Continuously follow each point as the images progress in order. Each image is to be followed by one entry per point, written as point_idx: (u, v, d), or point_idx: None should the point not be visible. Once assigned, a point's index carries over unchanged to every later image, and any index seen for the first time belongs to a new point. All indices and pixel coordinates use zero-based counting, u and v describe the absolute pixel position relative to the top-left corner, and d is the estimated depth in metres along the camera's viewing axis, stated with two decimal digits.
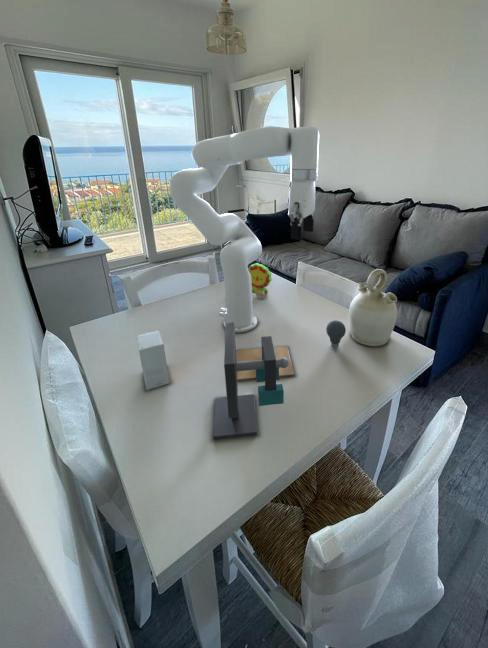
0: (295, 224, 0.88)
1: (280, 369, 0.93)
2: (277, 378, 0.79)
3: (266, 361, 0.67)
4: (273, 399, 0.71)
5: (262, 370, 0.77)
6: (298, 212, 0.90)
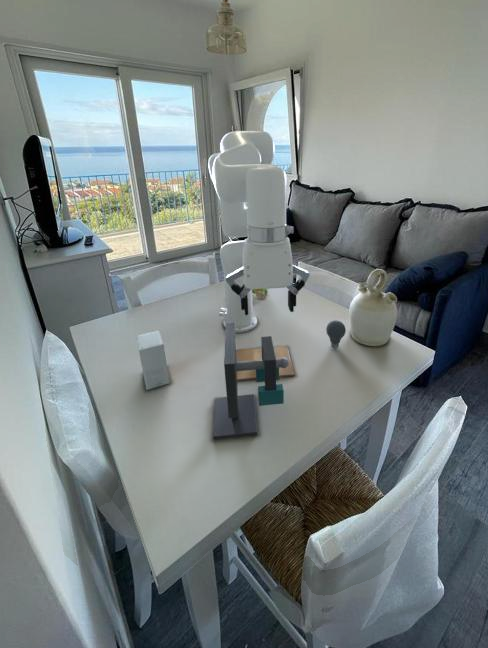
0: None
1: (280, 369, 0.93)
2: (277, 378, 0.79)
3: (266, 361, 0.67)
4: (273, 399, 0.71)
5: (262, 370, 0.77)
6: None
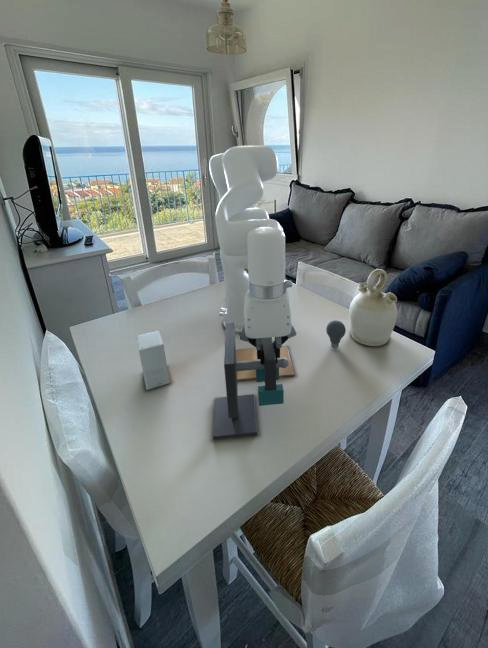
0: None
1: (280, 369, 0.93)
2: (277, 378, 0.79)
3: (266, 361, 0.67)
4: (273, 399, 0.71)
5: (262, 370, 0.77)
6: None
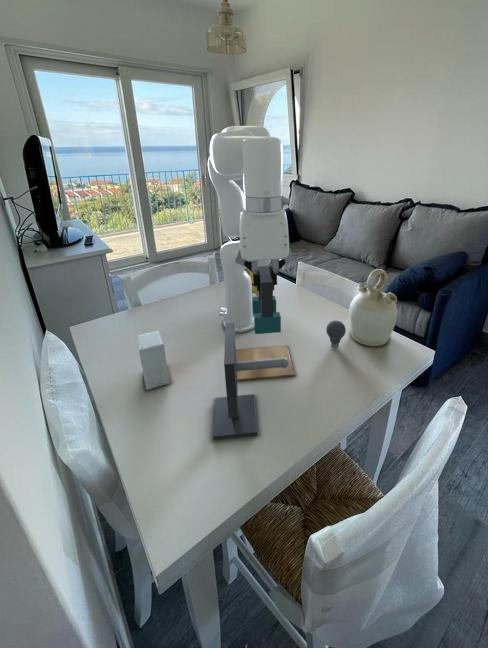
0: None
1: (280, 369, 0.93)
2: (274, 312, 0.76)
3: (262, 283, 0.65)
4: (270, 326, 0.68)
5: (259, 302, 0.75)
6: None
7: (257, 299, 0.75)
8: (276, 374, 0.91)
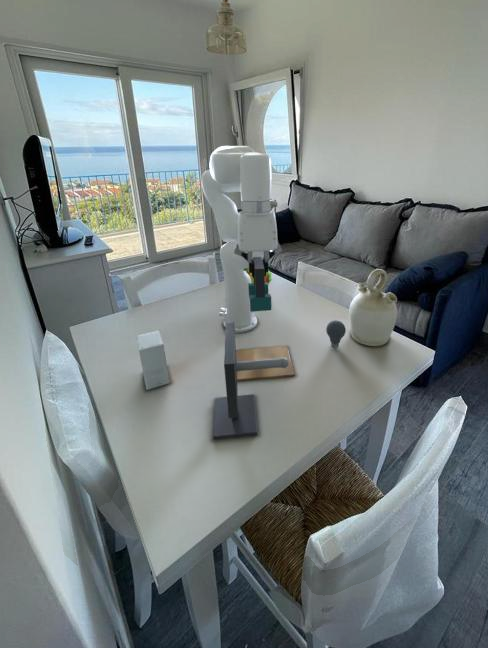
0: None
1: (280, 369, 0.93)
2: None
3: (256, 269, 0.81)
4: (262, 305, 0.84)
5: (254, 287, 0.91)
6: None
7: (252, 284, 0.91)
8: (276, 374, 0.91)
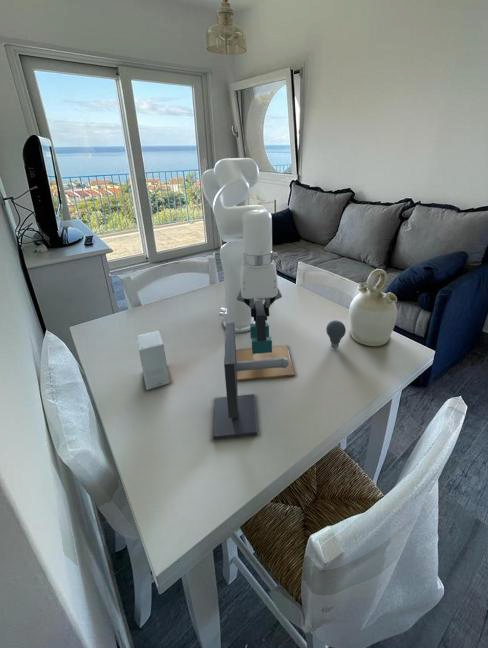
0: None
1: (280, 369, 0.93)
2: (268, 335, 0.97)
3: (257, 316, 0.86)
4: (263, 348, 0.89)
5: (255, 328, 0.96)
6: None
7: (254, 325, 0.96)
8: (276, 374, 0.91)
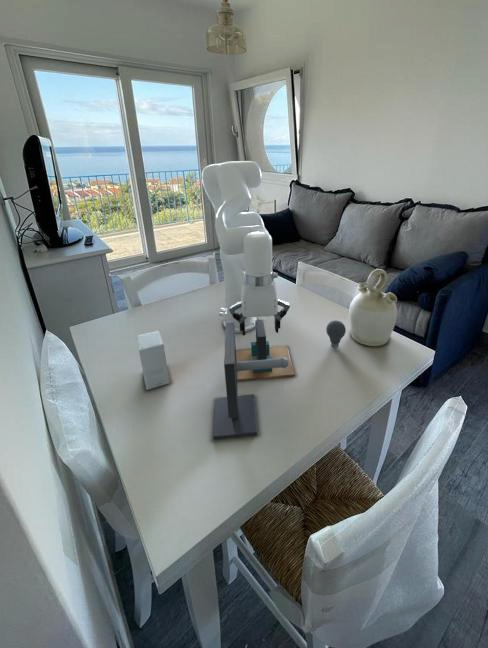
0: None
1: (280, 369, 0.93)
2: (268, 353, 0.99)
3: (258, 337, 0.88)
4: None
5: (256, 347, 0.98)
6: None
7: (255, 344, 0.98)
8: (276, 374, 0.91)
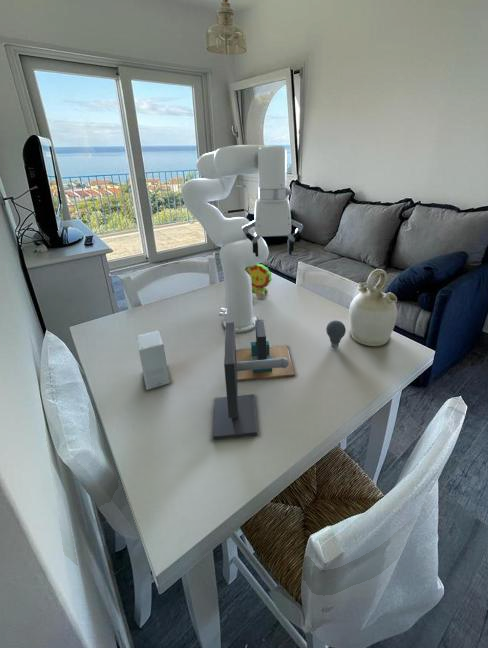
0: None
1: (280, 369, 0.93)
2: (268, 353, 0.99)
3: (258, 337, 0.88)
4: None
5: (256, 347, 0.98)
6: None
7: (255, 344, 0.98)
8: (276, 374, 0.91)
